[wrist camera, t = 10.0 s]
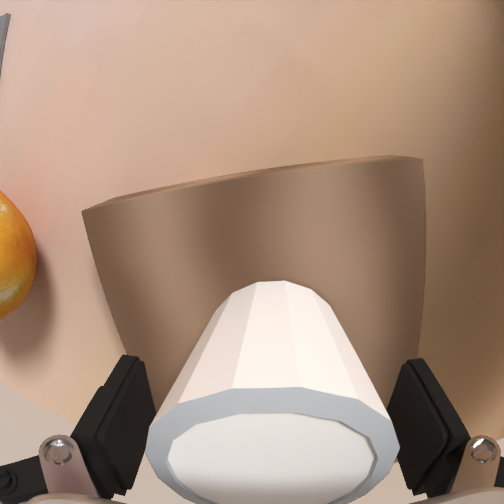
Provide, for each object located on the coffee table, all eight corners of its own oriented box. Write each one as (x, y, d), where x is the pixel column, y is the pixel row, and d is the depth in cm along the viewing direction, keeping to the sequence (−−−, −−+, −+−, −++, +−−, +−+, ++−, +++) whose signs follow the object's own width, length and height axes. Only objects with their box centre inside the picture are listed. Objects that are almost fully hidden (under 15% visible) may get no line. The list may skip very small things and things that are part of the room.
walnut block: (386, 155, 15) (422, 158, 11) (386, 375, 19) (405, 416, 15) (119, 195, 16) (81, 211, 12) (181, 400, 20) (169, 442, 16)
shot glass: (172, 286, 13) (95, 401, 6) (339, 246, 12) (404, 354, 5) (223, 405, 15) (200, 524, 8) (359, 379, 14) (394, 501, 7)
